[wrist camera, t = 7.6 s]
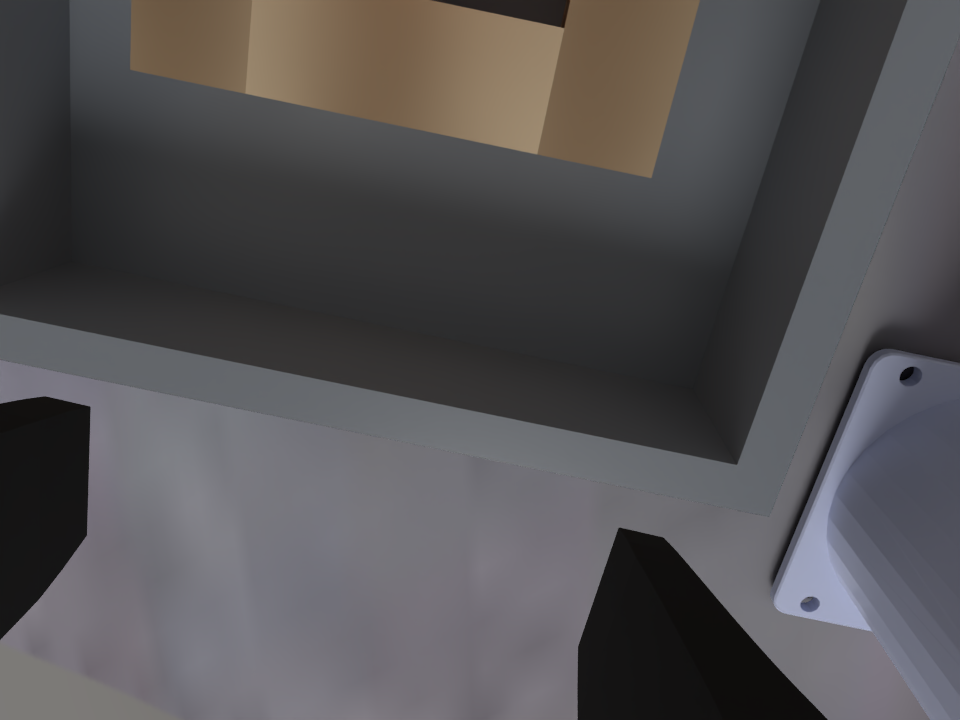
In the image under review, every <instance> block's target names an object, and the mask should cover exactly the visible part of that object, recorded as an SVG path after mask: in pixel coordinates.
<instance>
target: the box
mask: <svg viewBox="0 0 960 720" xmlns="http://www.w3.org/2000/svg"><path fill="white" fill-rule="evenodd" d="M959 37H960V0H0V360H3V361H8V362H13V363H18V364H23V365H28V366H32V367H37V368H42V369H47V370H52V371H57V372H62V373H67V374H72V375H76V376H81V377H86V378H91V379H96V380H101V381H106V382H111V383H116V384H120V385H125V386H130V387H135V388H140V389H145V390H150V391H155V392H160V393H165V394H169V395H174V396H179V397H184V398H189V399H194V400H199V401H204V402H209V403H213V404H218V405H223V406H228V407H233V408H238V409H243V410H248V411H253V412H258V413H262V414H267V415H272V416H277V417H282V418H287V419H292V420H297V421H302V422H306V423H311V424H316V425H321V426H326V427H331V428H336V429H341V430H346V431H351V432H355V433H360V434H365V435H370V436H375V437H380V438H385V439H390V440H395V441H399V442H404V443H409V444H414V445H419V446H424V447H429V448H434V449H439V450H443V451H448V452H453V453H458V454H463V455H468V456H473V457H478V458H483V459H488V460H492V461H497V462H502V463H507V464H512V465H517V466H522V467H527V468H532V469H536V470H541V471H546V472H551V473H556V474H561V475H566V476H571V477H576V478H581V479H585V480H590V481H595V482H600V483H605V484H610V485H615V486H620V487H625V488H629V489H634V490H639V491H644V492H649V493H654V494H659V495H664V496H669V497H673V498H678V499H683V500H688V501H693V502H698V503H703V504H708V505H713V506H718V507H722V508H727V509H732V510H737V511H742V512H747V513H752V514H757V515H762V516H766V517H769V516H770V514H771V511H772V509H773V506H774V504H775V501H776V499H777V496H778V494H779V491H780V489H781V486H782V484H783V481H784V479H785V476H786V474H787V471H788V468H789V466H790V463H791V461H792V458H793V456H794V453H795V451H796V448H797V446H798V443H799V441H800V438H801V436H802V433H803V431H804V428H805V426H806V423H807V421H808V418H809V416H810V413H811V410H812V408H813V405H814V403H815V400H816V398H817V395H818V393H819V390H820V388H821V385H822V383H823V380H824V378H825V375H826V373H827V370H828V368H829V365H830V363H831V360H832V358H833V355H834V352H835V350H836V347H837V345H838V342H839V340H840V337H841V335H842V332H843V330H844V327H845V325H846V322H847V320H848V317H849V315H850V312H851V310H852V307H853V305H854V302H855V300H856V297H857V294H858V292H859V289H860V287H861V284H862V282H863V279H864V277H865V274H866V272H867V269H868V267H869V264H870V262H871V259H872V257H873V254H874V252H875V249H876V247H877V244H878V241H879V239H880V236H881V234H882V231H883V229H884V226H885V224H886V221H887V219H888V216H889V214H890V211H891V209H892V206H893V204H894V201H895V199H896V196H897V194H898V191H899V189H900V186H901V183H902V181H903V178H904V176H905V173H906V171H907V168H908V166H909V163H910V161H911V158H912V156H913V153H914V151H915V148H916V146H917V143H918V141H919V138H920V136H921V133H922V131H923V128H924V125H925V123H926V120H927V118H928V115H929V113H930V110H931V108H932V105H933V103H934V100H935V98H936V95H937V93H938V90H939V88H940V85H941V83H942V80H943V78H944V75H945V73H946V70H947V67H948V65H949V62H950V60H951V57H952V55H953V52H954V50H955V47H956V45H957V42H958V40H959Z"/></svg>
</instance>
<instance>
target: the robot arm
mask: <svg viewBox="0 0 960 720" xmlns="http://www.w3.org/2000/svg"><path fill="white" fill-rule="evenodd" d="M908 367H914V372H913V374H912V375H911V377H910V378H908V379H906V380H900V374H901V373H902V371H903V370H904V369H906V368H908ZM89 439H90V407H89V406H85V405H81V404H76V403H72V402H68V401H63V400H59V399H54V398H50V397H46V396H45V397H37V398H30V399H23V400H17V401H12V402H7V403H2V404H0V639H1V638H2V637H3V636H4V635H5V634H6V633H7V632H8V631H9V630H10V629H11V628H12V627H13V626H14V625H15V624H16V623H17V622H18V621H19V620H20V619H21V618H22V617H23V616H24V615H25V613H26V612H27V611H28V610H29V609H30V608H31V607H32V606H33V605H34V604H35V603H36V602H37V601H38V600H39V599H40V597H41V596H42V595H43V593H44V592H45V591H46V590H47V588H48V587H49V586H50V584H51V583H52V582H53V581H54V579H55V578H56V577H57V575H58V574H59V573H60V572H61V570H62V569H63V568H64V566H65V565H66V563H67V562H68V561H69V559H70V558H71V557H72V555H73V554H74V552H75V551H76V550H77V548H78V547H79V545H80V544H81V543H82V541H83V540H84V538H85V537H86V536H87V510H88V474H89ZM770 596H771V599H772V601H773V603H774V605H775V607H776V608H777V609H778V610H779V611H780V612H783V613H785V614H790V615H794V616H799V617H804V618H809V619H814V620H819V621H824V622H829V623H834V624H839V625H844V626H849V627H854V628H858V629H863V630H868V631H872V632H873V633H874V635H875V636H876V638H877V639H878V641H879V642H880V644H881V645H882V647H883V648H884V650H885V651H886V653H887V655H888V656H889V658H890V659H891V661H892V662H893V664H894V665H895V667H896V668H897V670H898V671H899V673H900V674H901V676H902V677H903V679H904V680H905V682H906V683H907V685H908V687H909V688H910V690H911V691H912V693H913V694H914V696H915V697H916V699H917V700H918V702H919V703H920V705H921V706H922V708H923V709H924V711H925V712H926V714H927V715H928V717H929V719H930V720H960V363H957V362H953V361H948V360H943V359H938V358H933V357H928V356H924V355H919V354H914V353H909V352H904V351H899V350H895V349H882V350H879V351H876V352H875V353H873V354H872V355H871V356H870V357H869V358H868V359H867V361H866V362H865V364H864V367H863V369H862V371H861V374H860V376H859V379H858V381H857V383H856V386H855V388H854V391H853V393H852V396H851V398H850V400H849V403H848V405H847V408H846V410H845V412H844V415H843V417H842V420H841V422H840V424H839V427H838V429H837V432H836V434H835V437H834V439H833V441H832V444H831V446H830V449H829V451H828V453H827V456H826V458H825V461H824V463H823V465H822V468H821V470H820V473H819V475H818V477H817V480H816V482H815V485H814V487H813V490H812V492H811V494H810V497H809V499H808V502H807V504H806V506H805V509H804V511H803V514H802V516H801V518H800V521H799V523H798V526H797V528H796V530H795V533H794V535H793V538H792V540H791V543H790V545H789V547H788V550H787V552H786V555H785V557H784V559H783V562H782V564H781V567H780V569H779V571H778V574H777V576H776V579H775V581H774V583H773V586H772V588H771V593H770ZM807 597H814V598H813V599H812V600H811V601H809V602H806V603H801V601H802V600H803V599H804V598H807ZM578 720H827V718H826V717H825V716H824V715H823V714H822V713H821V712H820V711H819V710H818V709H817V708H816V707H815V706H814V705H813V704H812V703H811V702H810V701H809V700H808V699H807V698H806V697H805V696H804V695H803V694H802V693H801V692H800V691H799V690H798V689H797V688H796V687H795V686H794V684H793V683H792V682H791V681H790V680H789V679H788V678H787V677H786V676H785V675H784V674H783V673H782V672H781V671H780V670H779V668H778V667H777V666H776V665H775V664H774V663H773V662H772V661H771V660H770V659H769V658H768V657H767V655H766V654H765V653H764V652H763V651H762V650H761V649H760V648H759V647H758V645H757V644H756V643H755V642H754V641H753V640H752V639H751V638H750V636H749V635H748V634H747V633H746V632H745V631H744V630H743V628H742V627H741V626H740V625H739V624H738V623H737V622H736V620H735V619H734V618H733V617H732V616H731V615H730V613H729V612H728V611H727V610H726V609H725V608H724V606H723V605H722V604H721V603H720V602H719V601H718V599H717V598H716V597H715V596H714V595H713V593H712V592H711V591H710V590H709V589H708V588H707V586H706V585H705V584H704V583H703V582H702V580H701V579H700V578H699V577H698V576H697V575H696V573H695V572H694V571H693V570H692V569H691V567H690V566H689V565H688V564H687V563H686V562H685V560H684V559H683V558H682V557H681V556H680V555H679V554H678V552H677V551H676V550H675V549H674V548H673V547H672V546H671V545H670V544H669V543H668V542H667V541H666V540H665V539H664V538H663V537H658V536H654V535H650V534H645V533H641V532H637V531H632V530H628V529H623V528H619V529H618V532H617V535H616V537H615V540H614V543H613V546H612V549H611V552H610V555H609V558H608V561H607V564H606V567H605V570H604V573H603V576H602V578H601V581H600V584H599V587H598V590H597V593H596V596H595V599H594V602H593V605H592V608H591V611H590V614H589V617H588V619H587V622H586V625H585V628H584V631H583V634H582V637H581V640H580V643H579V646H578Z"/></svg>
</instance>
